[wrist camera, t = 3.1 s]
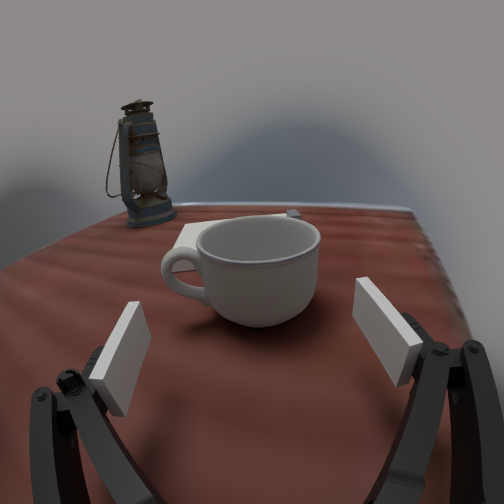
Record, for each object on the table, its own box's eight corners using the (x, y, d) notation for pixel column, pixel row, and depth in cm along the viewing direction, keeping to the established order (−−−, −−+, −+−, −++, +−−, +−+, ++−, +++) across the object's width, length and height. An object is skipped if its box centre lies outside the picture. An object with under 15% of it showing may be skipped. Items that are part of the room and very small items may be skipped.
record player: (167, 273, 37) (161, 245, 35) (186, 232, 54) (183, 211, 52) (317, 257, 37) (317, 229, 36) (290, 221, 54) (289, 200, 53)
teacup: (302, 277, 33) (301, 210, 30) (335, 333, 23) (340, 244, 20) (182, 292, 32) (169, 225, 29) (169, 355, 22) (144, 268, 19)
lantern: (153, 231, 57) (135, 89, 46) (104, 233, 60) (86, 108, 49) (190, 208, 74) (177, 97, 63) (146, 211, 78) (133, 109, 67)
